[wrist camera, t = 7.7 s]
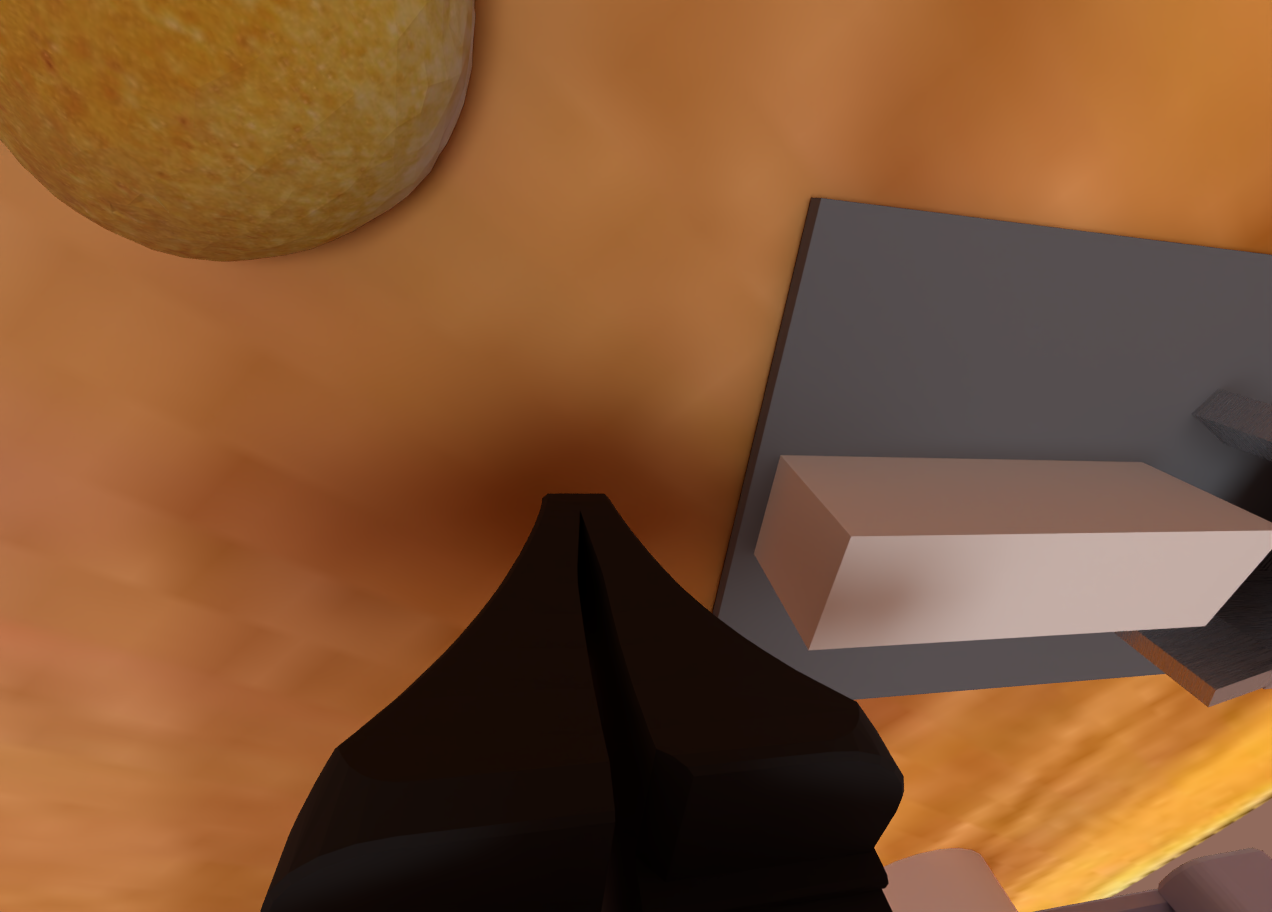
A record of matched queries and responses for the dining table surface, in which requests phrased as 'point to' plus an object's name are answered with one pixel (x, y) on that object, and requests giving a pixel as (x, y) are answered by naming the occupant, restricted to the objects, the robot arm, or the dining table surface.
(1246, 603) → the end cap
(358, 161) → the bread roll
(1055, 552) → the pale grey rectangular bar
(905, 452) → the mat
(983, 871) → the base with upright slab
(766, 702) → the robot arm
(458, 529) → the dining table surface
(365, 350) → the dining table surface
